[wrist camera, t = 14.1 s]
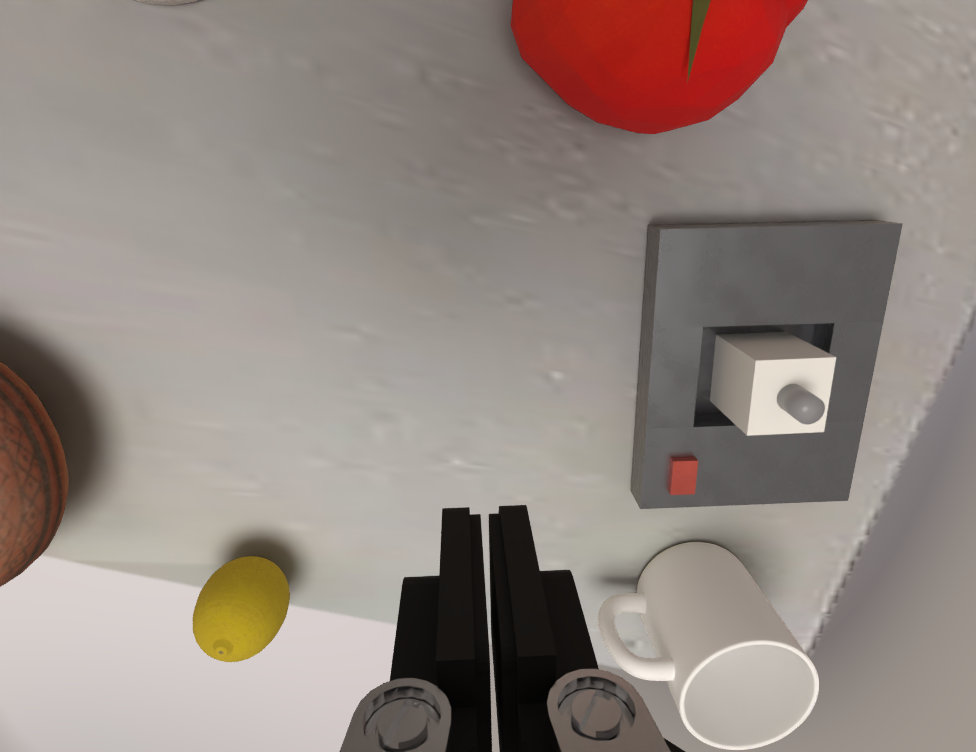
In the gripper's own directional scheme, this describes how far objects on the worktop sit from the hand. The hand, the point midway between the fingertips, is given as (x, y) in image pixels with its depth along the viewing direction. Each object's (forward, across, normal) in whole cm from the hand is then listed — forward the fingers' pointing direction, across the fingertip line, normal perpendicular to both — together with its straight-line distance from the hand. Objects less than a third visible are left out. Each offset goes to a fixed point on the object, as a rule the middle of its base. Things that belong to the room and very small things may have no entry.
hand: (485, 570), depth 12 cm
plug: (+27, -18, +5) cm, 33 cm away
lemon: (+27, +15, +19) cm, 36 cm away
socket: (+27, -18, +5) cm, 33 cm away
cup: (+27, -14, +22) cm, 38 cm away
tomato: (+27, -9, -15) cm, 32 cm away
